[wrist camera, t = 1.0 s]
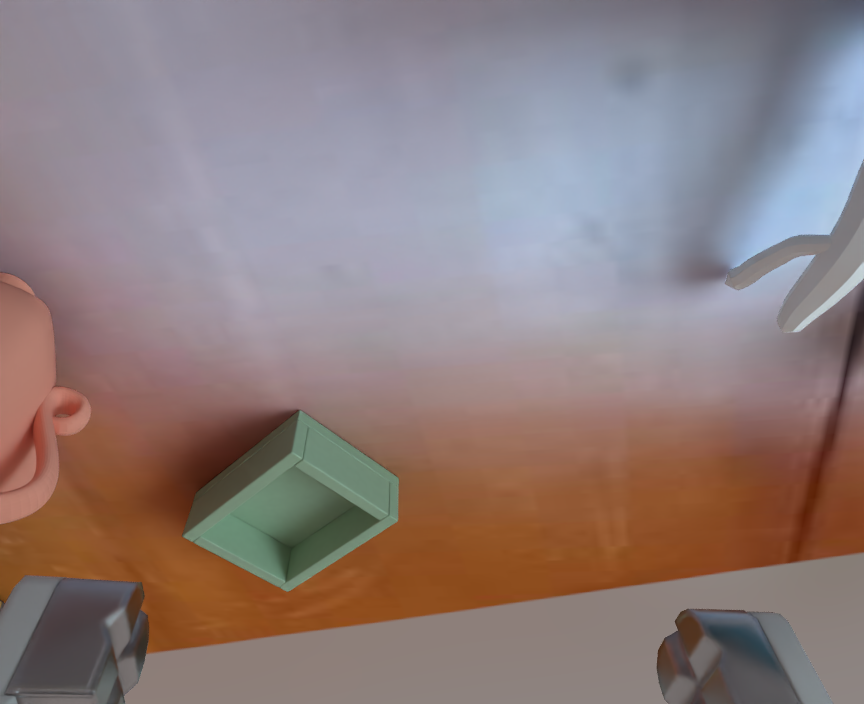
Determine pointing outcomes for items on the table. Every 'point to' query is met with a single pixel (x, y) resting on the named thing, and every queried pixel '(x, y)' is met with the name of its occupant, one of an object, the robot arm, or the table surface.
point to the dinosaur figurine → (1, 605)
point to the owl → (814, 265)
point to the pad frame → (293, 504)
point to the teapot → (30, 402)
